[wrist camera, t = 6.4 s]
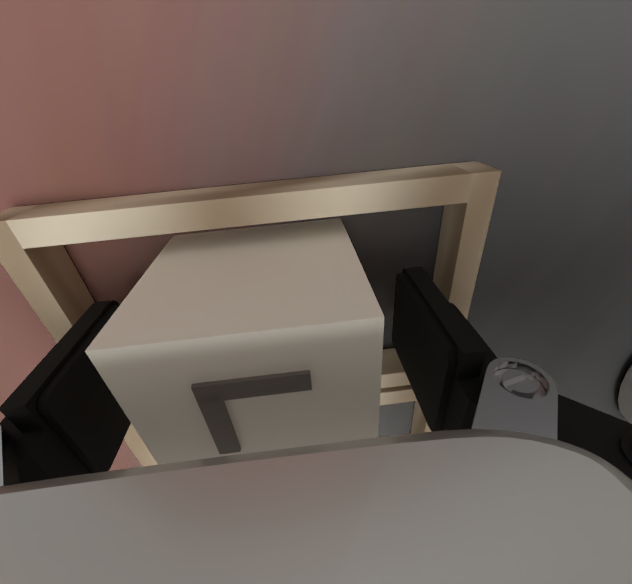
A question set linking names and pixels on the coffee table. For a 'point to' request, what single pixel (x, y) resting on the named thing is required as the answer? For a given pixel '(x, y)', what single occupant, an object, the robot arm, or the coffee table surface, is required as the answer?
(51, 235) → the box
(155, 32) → the coffee table surface
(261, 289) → the letter cube
